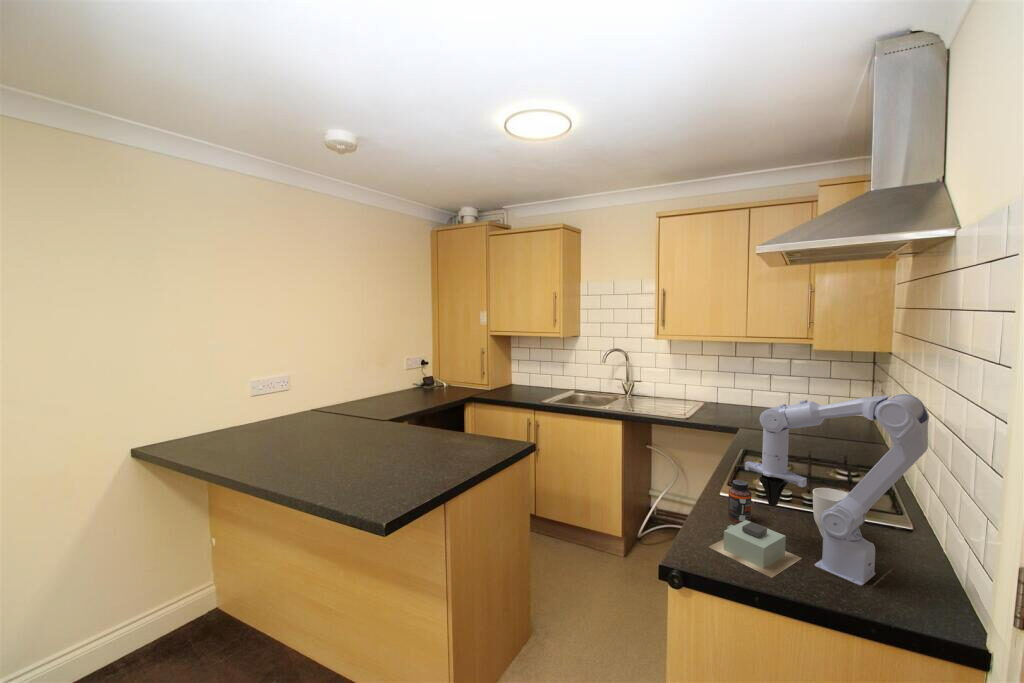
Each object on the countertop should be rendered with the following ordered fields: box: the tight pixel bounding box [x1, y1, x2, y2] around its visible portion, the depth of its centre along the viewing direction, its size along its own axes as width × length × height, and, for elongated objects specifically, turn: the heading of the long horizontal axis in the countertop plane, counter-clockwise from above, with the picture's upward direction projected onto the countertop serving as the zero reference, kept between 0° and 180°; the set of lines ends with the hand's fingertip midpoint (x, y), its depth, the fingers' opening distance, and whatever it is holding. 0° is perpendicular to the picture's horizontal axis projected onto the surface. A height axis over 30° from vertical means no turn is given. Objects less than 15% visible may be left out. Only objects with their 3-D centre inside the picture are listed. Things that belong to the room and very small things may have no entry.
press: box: [723, 520, 787, 568], centre depth 113 cm, size 12×10×5 cm
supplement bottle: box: [727, 479, 752, 524], centre depth 130 cm, size 6×6×11 cm
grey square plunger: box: [742, 521, 768, 538], centre depth 113 cm, size 4×4×6 cm
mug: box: [812, 487, 849, 538], centre depth 120 cm, size 12×9×12 cm
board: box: [708, 538, 803, 579], centre depth 113 cm, size 16×14×1 cm
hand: (773, 504), depth 117 cm, fingers closed
